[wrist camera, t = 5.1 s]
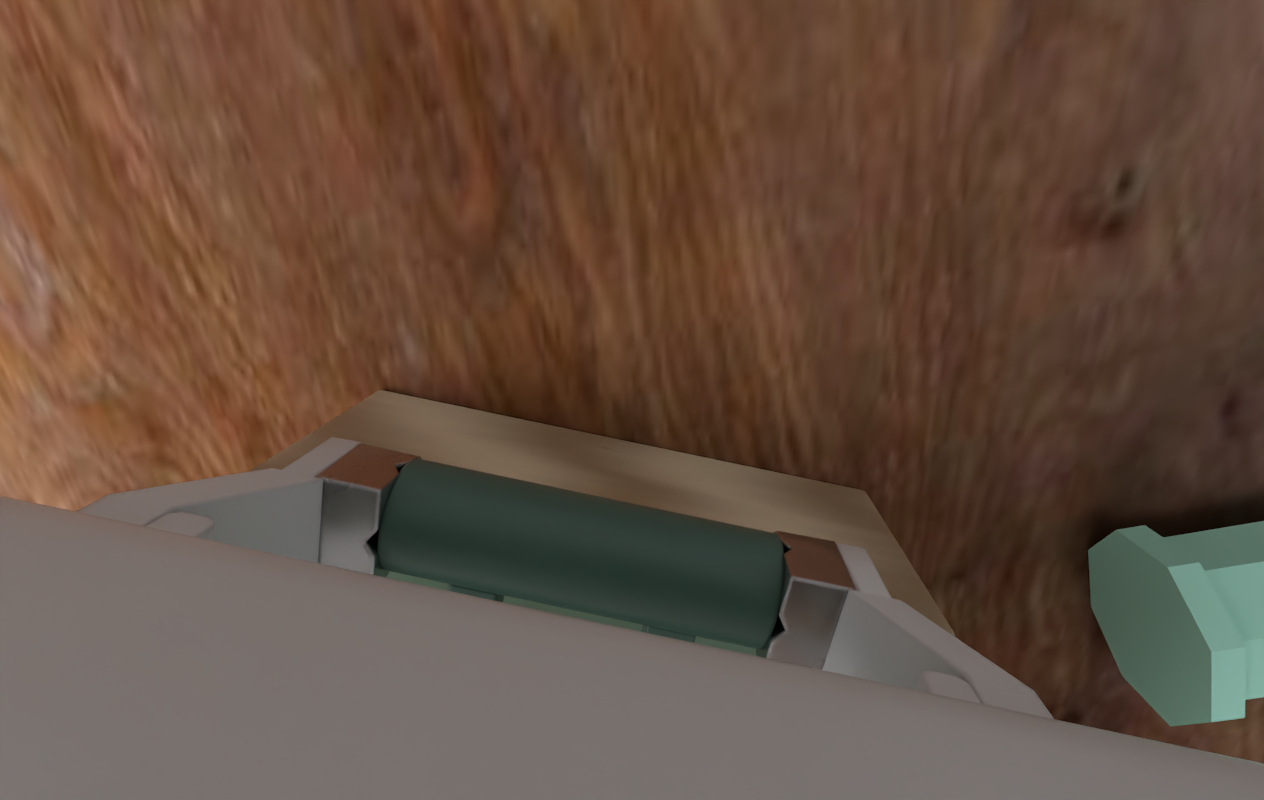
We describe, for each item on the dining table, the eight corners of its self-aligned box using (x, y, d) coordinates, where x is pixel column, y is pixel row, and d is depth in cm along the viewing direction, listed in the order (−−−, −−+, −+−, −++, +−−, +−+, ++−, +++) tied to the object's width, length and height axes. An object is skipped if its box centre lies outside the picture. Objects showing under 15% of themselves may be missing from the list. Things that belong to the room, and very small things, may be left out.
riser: (357, 653, 26) (224, 838, 19) (379, 388, 23) (229, 482, 15) (783, 744, 26) (824, 969, 18) (865, 489, 23) (957, 634, 15)
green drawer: (219, 844, 19) (57, 1068, 14) (228, 340, 14) (2, 408, 10) (826, 977, 18) (877, 1252, 13) (1013, 503, 14) (1182, 656, 9)
